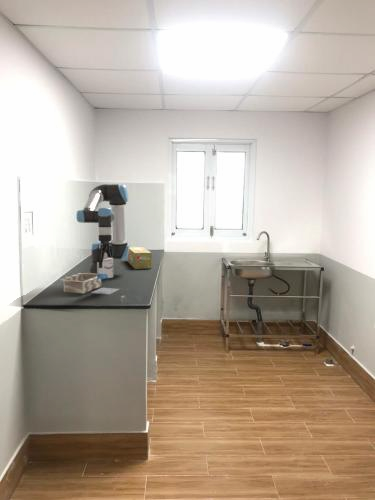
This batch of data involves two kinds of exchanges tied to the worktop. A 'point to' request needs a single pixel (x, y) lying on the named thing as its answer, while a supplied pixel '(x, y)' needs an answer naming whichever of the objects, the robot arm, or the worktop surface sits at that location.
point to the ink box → (106, 268)
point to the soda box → (139, 257)
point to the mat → (105, 291)
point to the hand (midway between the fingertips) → (105, 271)
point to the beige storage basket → (81, 283)
